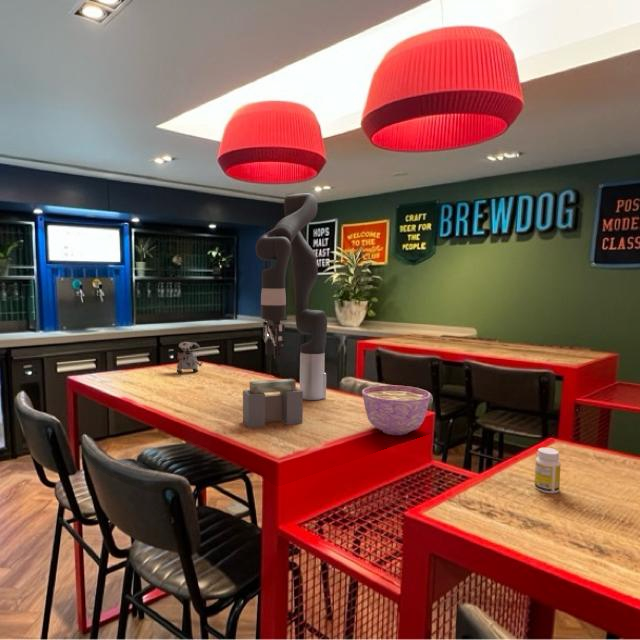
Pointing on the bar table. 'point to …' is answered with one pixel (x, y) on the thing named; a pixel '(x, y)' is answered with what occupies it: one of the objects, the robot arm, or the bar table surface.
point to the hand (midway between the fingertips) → (273, 356)
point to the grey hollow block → (272, 408)
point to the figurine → (188, 357)
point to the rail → (272, 386)
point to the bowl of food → (395, 407)
